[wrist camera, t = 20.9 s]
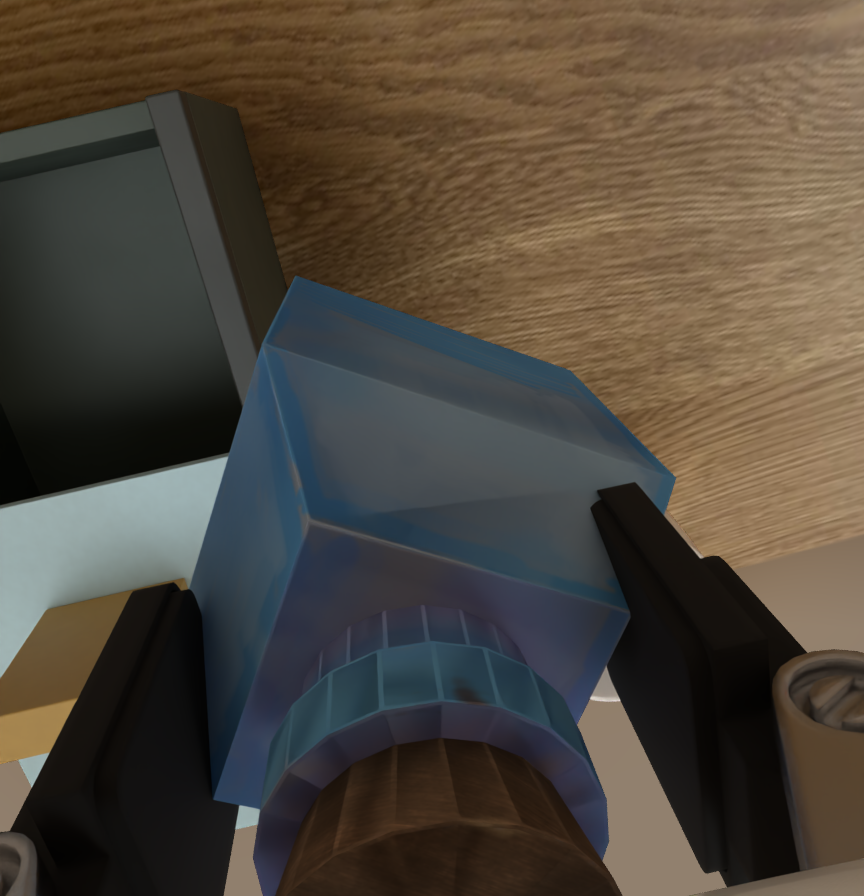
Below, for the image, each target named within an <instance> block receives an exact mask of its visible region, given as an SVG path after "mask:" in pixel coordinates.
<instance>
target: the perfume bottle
mask: <svg viewBox="0 0 864 896" xmlns="http://www.w3.org/2000/svg"><path fill="white" fill-rule="evenodd" d="M675 480H676V477H675V476H674V475H673V474H672V473H671V472H670V471H669V470H668V469H667V468H666V467H665V466H664V465H663V464H662V463H661V462H660V461H659V460H658V459H657V458H656V457H655V456H654V455H653V454H652V453H651V452H650V451H649V450H648V449H647V448H646V447H645V446H644V445H643V444H642V443H641V442H640V441H639V440H638V439H637V438H636V437H635V436H634V435H633V434H632V433H631V432H630V431H629V430H628V429H627V428H626V427H625V425H624V424H623V423H622V422H621V421H620V420H619V419H618V418H617V417H616V416H615V415H614V414H613V413H612V412H611V411H610V410H609V409H608V408H607V407H606V406H605V405H604V404H603V403H602V402H601V401H600V400H599V399H598V398H597V397H596V396H595V395H594V394H593V393H592V392H591V391H590V390H589V389H588V388H587V387H586V386H585V385H584V384H583V383H582V382H581V381H580V380H579V379H578V378H577V377H576V376H575V375H574V374H573V373H572V372H571V371H570V370H568V369H565V368H562V367H559V366H556V365H553V364H550V363H548V362H545V361H542V360H539V359H536V358H533V357H530V356H527V355H524V354H521V353H519V352H516V351H513V350H510V349H507V348H504V347H501V346H498V345H495V344H493V343H490V342H487V341H484V340H481V339H478V338H475V337H472V336H469V335H466V334H464V333H461V332H458V331H455V330H452V329H449V328H446V327H443V326H440V325H438V324H435V323H432V322H429V321H426V320H423V319H420V318H417V317H414V316H412V315H409V314H406V313H403V312H400V311H397V310H394V309H391V308H388V307H385V306H383V305H380V304H377V303H374V302H371V301H368V300H365V299H362V298H359V297H357V296H354V295H351V294H348V293H345V292H342V291H339V290H336V289H333V288H330V287H328V286H325V285H322V284H319V283H316V282H313V281H310V280H307V279H304V278H302V277H299V276H295V278H294V280H293V282H292V284H291V286H290V288H289V290H288V292H287V294H286V296H285V298H284V300H283V302H282V304H281V306H280V308H279V310H278V312H277V314H276V316H275V318H274V320H273V322H272V324H271V326H270V328H269V330H268V332H267V334H266V336H265V339H264V341H263V343H262V346H261V349H260V352H259V356H258V359H257V362H256V366H255V369H254V372H253V376H252V379H251V382H250V386H249V389H248V392H247V396H246V399H245V402H244V406H243V409H242V413H241V416H240V419H239V423H238V426H237V429H236V433H235V436H234V439H233V443H232V446H231V449H230V453H229V456H228V459H227V463H226V466H225V469H224V473H223V476H222V479H221V483H220V486H219V489H218V493H217V496H216V500H215V503H214V506H213V510H212V513H211V516H210V520H209V523H208V526H207V530H206V533H205V536H204V540H203V543H202V546H201V550H200V553H199V556H198V560H197V563H196V566H195V570H194V573H193V576H192V580H191V583H190V587H189V589H190V590H192V592H193V593H194V595H195V598H196V600H197V603H198V606H199V609H200V611H201V614H202V626H203V644H204V661H205V678H206V695H207V713H208V730H209V747H210V765H211V782H212V799H213V800H217V801H222V802H227V803H232V804H236V805H241V806H246V807H251V808H256V809H260V812H259V819H258V826H257V833H256V840H255V847H254V854H253V860H254V864H255V868H256V871H257V875H258V879H259V882H260V886H261V890H262V894H263V896H622V894H621V892H620V890H619V888H618V886H617V884H616V882H615V880H614V879H613V877H612V875H611V874H610V872H609V871H608V869H607V868H606V866H605V864H604V863H603V862H602V860H603V857H604V854H605V851H606V848H607V846H608V843H609V835H608V818H607V800H606V797H605V794H604V792H603V789H602V786H601V784H600V782H599V779H598V776H597V774H596V771H595V768H594V766H593V763H592V761H591V758H590V755H589V753H588V750H587V748H586V746H585V743H584V740H583V737H582V735H581V732H580V731H579V729H578V726H577V724H578V722H579V720H580V718H581V716H582V714H583V712H584V710H585V708H586V706H587V704H588V702H589V700H590V698H591V696H592V694H593V692H594V690H595V688H596V686H597V684H598V682H599V680H600V678H601V676H602V674H603V672H604V670H605V668H606V666H607V664H608V662H609V660H610V658H611V656H612V654H613V652H614V650H615V648H616V646H617V644H618V642H619V640H620V638H621V636H622V634H623V632H624V630H625V628H626V626H627V624H628V622H629V620H630V618H631V616H630V611H629V608H628V606H627V603H626V600H625V598H624V595H623V592H622V590H621V587H620V585H619V582H618V579H617V577H616V574H615V572H614V569H613V566H612V564H611V561H610V559H609V556H608V553H607V551H606V548H605V546H604V543H603V540H602V538H601V535H600V532H599V530H598V527H597V525H596V522H595V519H594V517H593V514H592V512H591V509H590V507H591V506H592V505H593V504H594V503H595V502H597V501H599V500H600V499H601V498H600V497H599V494H598V492H597V490H600V489H604V488H609V487H613V486H618V485H623V484H627V483H632V482H635V483H637V484H638V485H639V486H640V488H641V489H642V490H643V491H644V492H645V494H646V495H647V496H648V497H649V498H650V499H651V501H652V502H653V503H654V504H655V505H656V507H657V508H658V509H659V510H660V511H661V513H662V514H663V515H664V514H665V511H666V508H667V505H668V502H669V499H670V496H671V492H672V489H673V486H674V483H675Z"/></svg>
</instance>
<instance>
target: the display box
mask: <svg viewBox="0 0 864 896" xmlns="http://www.w3.org/2000/svg"><path fill="white" fill-rule="evenodd" d="M287 292H288V290H287V287H286V283H285V280H284V276H283V272H282V269H281V265H280V261H279V258H278V254H277V251H276V247H275V243H274V240H273V236H272V233H271V229H270V225H269V222H268V218H267V215H266V211H265V207H264V204H263V200H262V197H261V193H260V189H259V186H258V182H257V178H256V175H255V171H254V168H253V164H252V160H251V157H250V153H249V150H248V146H247V142H246V139H245V135H244V132H243V128H242V124H241V121H240V117H239V114H238V110H237V109H236V108H233V107H230V106H227V105H224V104H221V103H218V102H215V101H212V100H209V99H206V98H203V97H200V96H197V95H194V94H190V93H187V92H183V91H180V90H172V91H167V92H163V93H159V94H154V95H150V96H147V97H145V100H144V101H140V102H136V103H131V104H127V105H122V106H118V107H113V108H109V109H105V110H100V111H96V112H91V113H87V114H82V115H78V116H74V117H69V118H65V119H60V120H56V121H51V122H47V123H43V124H38V125H34V126H29V127H25V128H20V129H16V130H12V131H7V132H3V133H0V505H4V504H8V503H12V502H17V501H21V500H25V499H30V498H34V497H38V496H43V495H47V494H52V493H56V492H60V491H65V490H69V489H73V488H78V487H82V486H86V485H91V484H95V483H99V482H104V481H108V480H112V479H117V478H121V477H125V476H130V475H134V474H138V473H143V472H147V471H151V470H156V469H160V468H164V467H169V466H173V465H177V464H182V463H186V462H191V461H195V460H199V459H204V458H208V457H212V456H217V455H221V454H225V453H230V449H231V446H232V443H233V439H234V436H235V433H236V429H237V426H238V423H239V419H240V416H241V413H242V409H243V406H244V402H245V399H246V396H247V392H248V389H249V386H250V382H251V379H252V376H253V372H254V369H255V366H256V362H257V359H258V356H259V352H260V349H261V346H262V343H263V341H264V339H265V336H266V334H267V332H268V330H269V328H270V326H271V324H272V322H273V320H274V318H275V316H276V314H277V312H278V310H279V308H280V306H281V304H282V302H283V300H284V298H285V296H286V294H287Z"/></svg>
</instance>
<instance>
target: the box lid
mask: <svg viewBox="0 0 864 896" xmlns="http://www.w3.org/2000/svg"><path fill="white" fill-rule="evenodd" d="M228 456H229V453H225V454H221V455H217V456H212V457H208V458H204V459H199V460H195V461H191V462H186V463H182V464H177V465H173V466H169V467H164V468H160V469H156V470H151V471H147V472H143V473H138V474H134V475H130V476H125V477H121V478H117V479H112V480H108V481H104V482H99V483H95V484H91V485H86V486H82V487H78V488H73V489H69V490H65V491H60V492H56V493H52V494H47V495H43V496H38V497H34V498H30V499H25V500H21V501H17V502H12V503H8V504H4V505H0V764H3V763H7V762H11V761H16V760H18V761H19V763H20V765H21V767H22V769H23V771H24V773H25V775H26V777H27V779H28V781H29V782H30V785H31V786H33V784H34V782H35V781H36V779H37V777H38V775H39V773H40V771H41V769H42V767H43V765H44V763H45V761H46V759H47V757H48V755H49V753H50V751H51V749H52V747H53V745H54V743H55V741H56V739H57V737H58V735H59V733H60V731H61V729H62V727H63V725H64V723H65V721H66V720H67V718H68V716H69V714H70V712H71V710H72V708H73V706H74V704H75V702H76V701H77V699H78V697H79V695H80V693H81V691H82V689H83V687H84V685H85V683H86V681H87V679H88V677H89V675H90V673H91V671H92V669H93V667H94V665H95V663H96V661H97V660H98V658H99V656H100V654H101V652H102V650H103V648H104V646H105V644H106V642H107V640H108V638H109V636H110V634H111V632H112V630H113V628H114V626H115V624H116V622H117V620H118V618H119V616H120V614H121V612H122V610H123V608H124V606H125V604H126V602H127V600H128V598H129V596H130V594H131V593H132V592H133V591H135V590H139V589H144V588H149V587H153V586H158V585H162V584H167V583H172V582H174V583H175V584H177V585H178V587H179V588H180V590H181V591H182V590H186V589H189V587H190V583H191V580H192V576H193V573H194V570H195V566H196V563H197V560H198V556H199V553H200V550H201V546H202V543H203V540H204V536H205V533H206V530H207V526H208V523H209V520H210V516H211V513H212V510H213V506H214V503H215V500H216V496H217V493H218V489H219V486H220V483H221V479H222V476H223V473H224V469H225V466H226V463H227V459H228ZM259 812H260V809H256V808H251V807H246V806H241V805H239V811H238V817H237V822H236V828H235V830H236V829H240V828H244V827H248V826H253V825H257V824H258V819H259Z"/></svg>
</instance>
